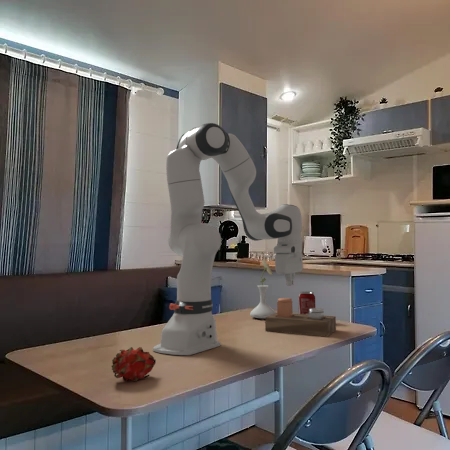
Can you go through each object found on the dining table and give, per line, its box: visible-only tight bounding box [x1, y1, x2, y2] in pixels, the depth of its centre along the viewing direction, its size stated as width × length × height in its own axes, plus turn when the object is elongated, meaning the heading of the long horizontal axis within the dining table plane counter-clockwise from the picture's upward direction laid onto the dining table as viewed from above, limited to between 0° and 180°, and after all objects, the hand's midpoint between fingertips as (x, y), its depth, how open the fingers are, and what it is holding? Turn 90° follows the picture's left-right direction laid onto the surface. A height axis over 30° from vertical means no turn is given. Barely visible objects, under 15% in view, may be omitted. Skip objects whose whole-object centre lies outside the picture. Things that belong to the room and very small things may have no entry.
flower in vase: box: [249, 259, 277, 320], centre depth 193 cm, size 13×11×25 cm
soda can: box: [297, 290, 316, 315], centre depth 181 cm, size 7×7×12 cm
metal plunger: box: [309, 307, 325, 320], centre depth 161 cm, size 5×5×7 cm
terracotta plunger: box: [276, 297, 294, 318], centre depth 167 cm, size 5×5×7 cm
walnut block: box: [264, 312, 337, 337], centre depth 164 cm, size 12×23×5 cm, turn 63°
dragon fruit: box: [111, 346, 157, 382], centre depth 108 cm, size 8×8×12 cm
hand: (290, 285), depth 166 cm, fingers closed
